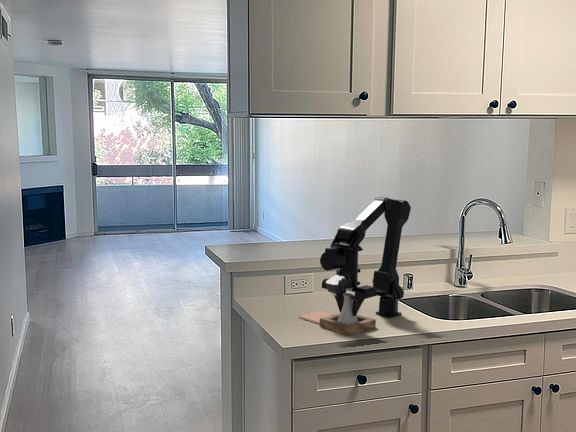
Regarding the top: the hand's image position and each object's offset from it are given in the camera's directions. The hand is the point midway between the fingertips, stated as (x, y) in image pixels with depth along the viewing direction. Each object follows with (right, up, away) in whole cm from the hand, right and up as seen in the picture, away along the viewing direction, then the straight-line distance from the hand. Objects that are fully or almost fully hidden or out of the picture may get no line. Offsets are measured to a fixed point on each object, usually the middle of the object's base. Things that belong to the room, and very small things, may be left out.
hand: (347, 313), depth 195 cm
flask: (0, -4, 0) cm, 4 cm away
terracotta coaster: (-8, -3, +9) cm, 13 cm away
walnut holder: (0, -4, +1) cm, 4 cm away
